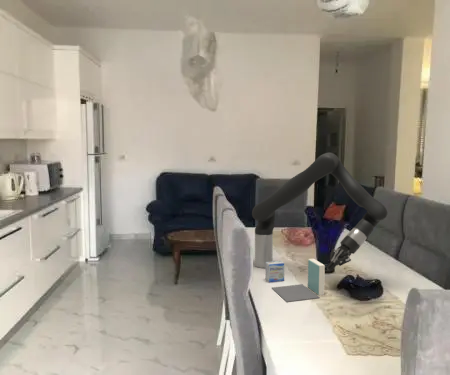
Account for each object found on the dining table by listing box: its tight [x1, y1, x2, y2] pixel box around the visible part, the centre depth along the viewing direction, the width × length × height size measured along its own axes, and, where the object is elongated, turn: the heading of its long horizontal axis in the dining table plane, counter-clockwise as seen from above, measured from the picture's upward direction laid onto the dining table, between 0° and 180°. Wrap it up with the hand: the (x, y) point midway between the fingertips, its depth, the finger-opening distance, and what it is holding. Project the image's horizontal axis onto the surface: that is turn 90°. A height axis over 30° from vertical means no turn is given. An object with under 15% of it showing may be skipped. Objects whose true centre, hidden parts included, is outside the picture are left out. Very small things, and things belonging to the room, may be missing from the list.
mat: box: [271, 283, 320, 303], centre depth 178 cm, size 16×15×1 cm
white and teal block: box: [307, 258, 326, 296], centre depth 180 cm, size 10×3×13 cm, turn 16°
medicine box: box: [264, 260, 285, 283], centre depth 194 cm, size 8×4×9 cm, turn 105°
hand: (328, 269), depth 181 cm, fingers closed
